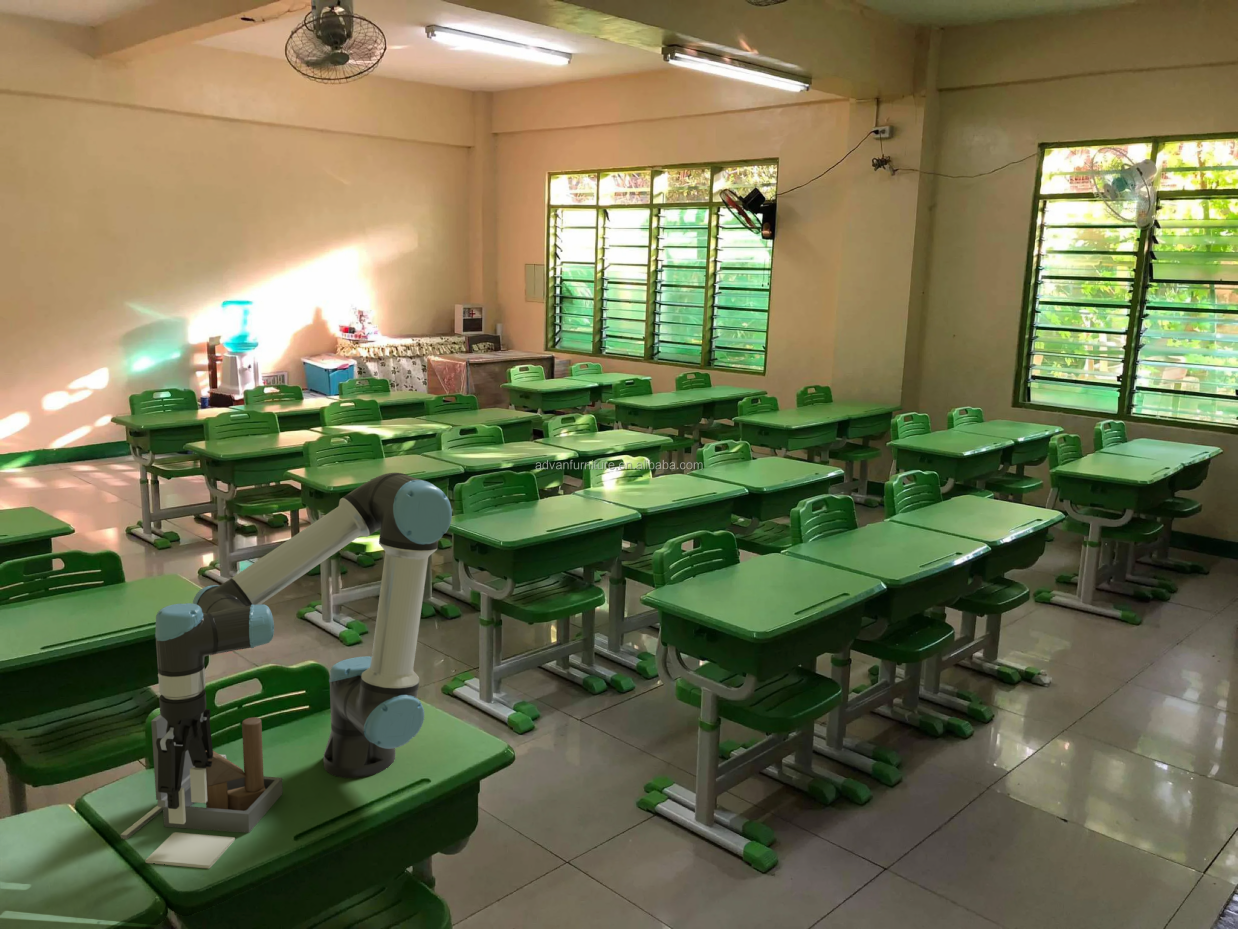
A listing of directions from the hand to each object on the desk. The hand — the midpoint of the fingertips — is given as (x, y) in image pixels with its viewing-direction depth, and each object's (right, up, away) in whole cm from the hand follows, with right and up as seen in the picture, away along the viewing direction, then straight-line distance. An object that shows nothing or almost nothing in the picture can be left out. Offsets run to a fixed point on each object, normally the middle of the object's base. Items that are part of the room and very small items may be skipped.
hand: (188, 811), depth 172 cm
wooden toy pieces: (+2, -6, +16) cm, 17 cm away
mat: (0, -8, +1) cm, 8 cm away
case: (0, -5, +15) cm, 16 cm away
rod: (-13, -6, +11) cm, 18 cm away
